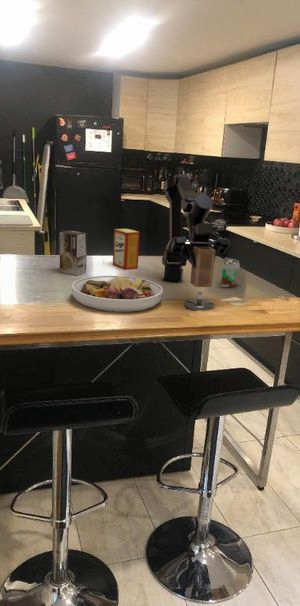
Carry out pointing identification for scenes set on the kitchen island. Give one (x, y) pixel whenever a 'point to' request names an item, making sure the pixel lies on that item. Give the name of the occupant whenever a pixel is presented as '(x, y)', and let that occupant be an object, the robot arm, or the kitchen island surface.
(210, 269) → the collar
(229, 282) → the food container
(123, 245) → the baking soda box
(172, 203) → the robot arm
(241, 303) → the cork pad
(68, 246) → the coffee box
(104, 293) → the bowl
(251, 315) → the kitchen island surface
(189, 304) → the hub
